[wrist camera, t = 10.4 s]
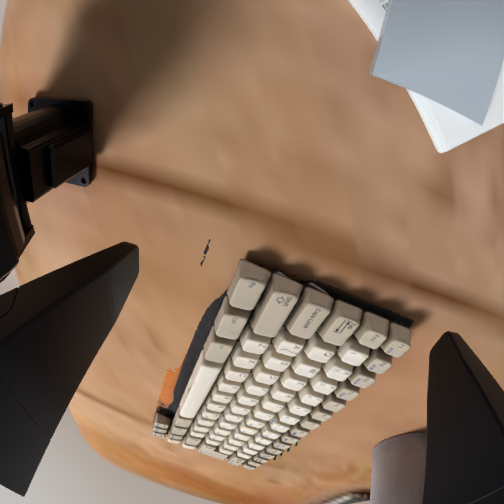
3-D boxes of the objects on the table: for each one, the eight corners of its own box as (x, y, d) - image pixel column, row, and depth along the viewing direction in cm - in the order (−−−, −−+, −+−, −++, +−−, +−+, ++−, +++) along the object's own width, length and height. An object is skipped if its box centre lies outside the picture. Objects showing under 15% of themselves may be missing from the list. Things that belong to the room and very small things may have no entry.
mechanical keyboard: (204, 227, 23) (188, 254, 20) (427, 316, 24) (435, 347, 21) (154, 420, 45) (147, 437, 42) (266, 457, 45) (262, 475, 43)
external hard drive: (432, 147, 17) (319, -30, 12) (526, 100, 13) (428, -73, 8) (441, 154, 15) (319, -38, 11) (539, 105, 12) (436, -81, 7)
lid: (368, 74, 14) (372, 74, 13) (405, -76, 8) (410, -83, 7) (473, 121, 14) (482, 125, 13) (508, -21, 8) (518, -24, 7)
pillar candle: (446, 442, 34) (450, 533, 22) (390, 462, 39) (386, 546, 27) (421, 424, 32) (425, 533, 19) (358, 446, 37) (349, 545, 25)
